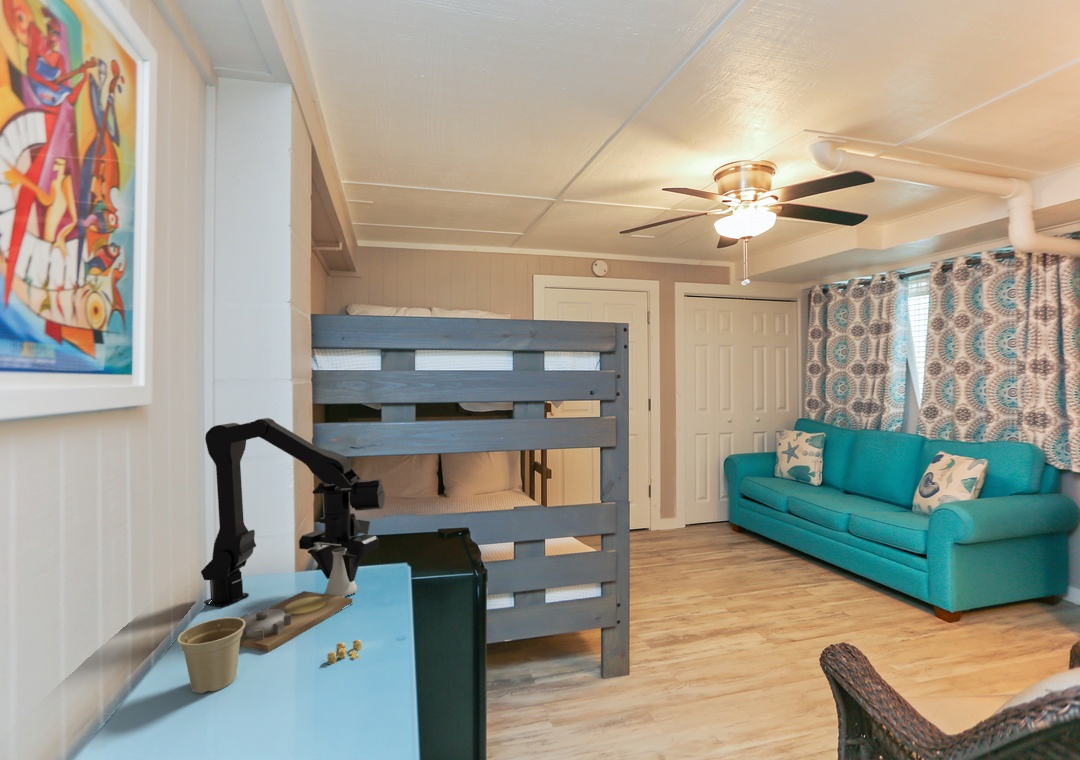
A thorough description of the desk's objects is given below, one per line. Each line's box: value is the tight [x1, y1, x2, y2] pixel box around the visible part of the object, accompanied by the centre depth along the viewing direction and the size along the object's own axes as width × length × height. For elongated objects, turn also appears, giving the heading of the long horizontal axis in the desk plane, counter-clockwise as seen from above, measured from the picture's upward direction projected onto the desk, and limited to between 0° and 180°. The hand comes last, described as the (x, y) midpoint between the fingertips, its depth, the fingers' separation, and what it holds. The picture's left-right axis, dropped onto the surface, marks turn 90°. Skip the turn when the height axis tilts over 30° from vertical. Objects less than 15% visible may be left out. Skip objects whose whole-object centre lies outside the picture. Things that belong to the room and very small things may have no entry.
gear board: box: [239, 590, 353, 653], centre depth 108 cm, size 14×22×4 cm, turn 157°
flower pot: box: [176, 616, 245, 694], centre depth 86 cm, size 9×9×9 cm
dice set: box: [327, 639, 362, 665], centre depth 93 cm, size 5×5×2 cm
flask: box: [324, 547, 358, 597], centre depth 121 cm, size 7×7×10 cm
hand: (340, 579), depth 121 cm, fingers open, 6 cm apart
